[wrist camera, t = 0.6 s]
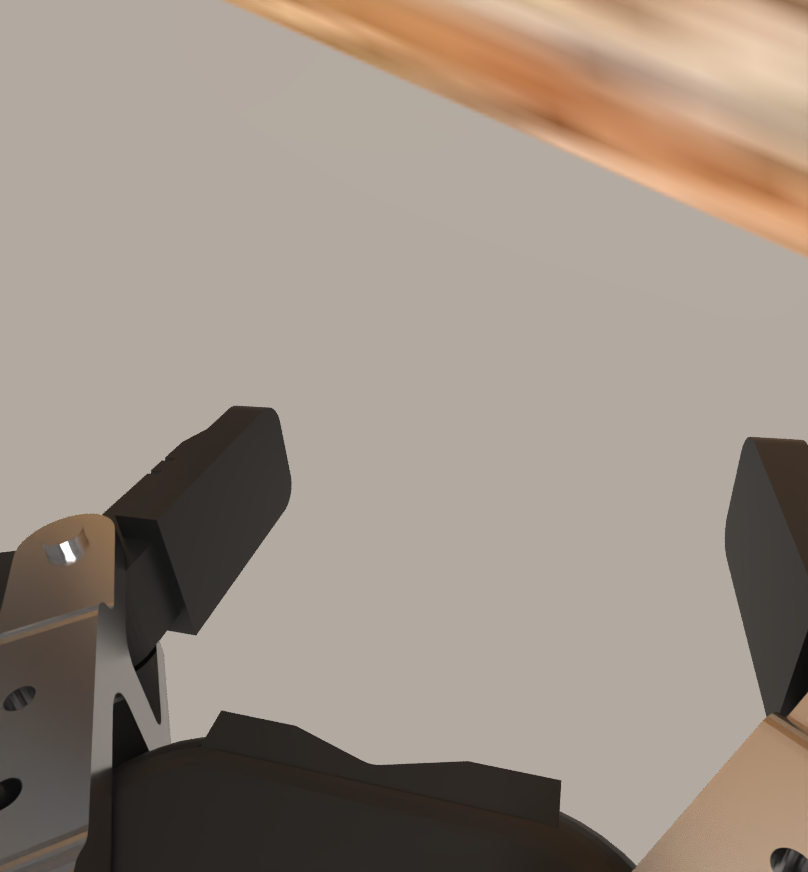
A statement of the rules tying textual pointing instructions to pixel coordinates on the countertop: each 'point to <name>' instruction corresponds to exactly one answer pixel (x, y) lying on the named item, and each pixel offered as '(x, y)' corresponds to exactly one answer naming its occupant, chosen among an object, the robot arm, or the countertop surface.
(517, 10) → the countertop surface
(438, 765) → the robot arm
